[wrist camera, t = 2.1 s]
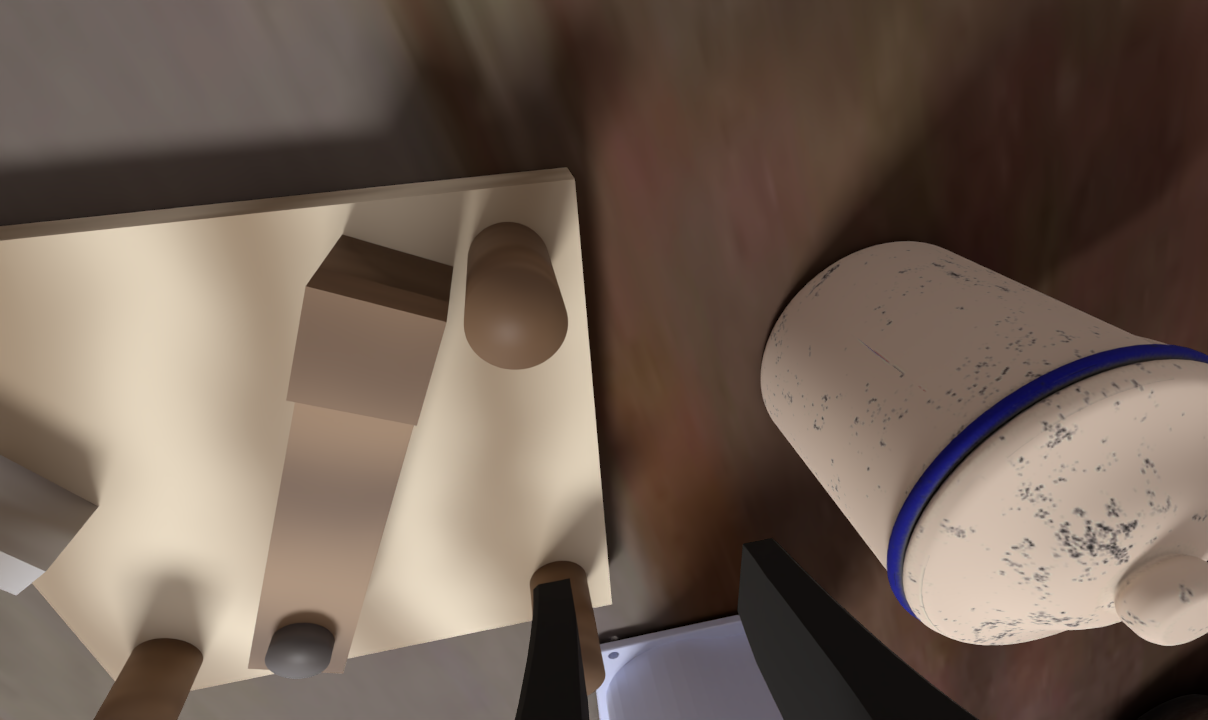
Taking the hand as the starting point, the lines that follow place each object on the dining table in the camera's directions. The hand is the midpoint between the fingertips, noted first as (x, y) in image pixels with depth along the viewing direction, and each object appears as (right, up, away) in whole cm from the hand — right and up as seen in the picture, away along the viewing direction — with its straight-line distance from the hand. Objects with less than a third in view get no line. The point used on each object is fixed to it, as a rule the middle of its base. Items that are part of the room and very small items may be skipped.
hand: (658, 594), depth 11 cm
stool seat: (-10, +2, +8) cm, 13 cm away
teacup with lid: (+10, +6, +10) cm, 15 cm away
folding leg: (-9, +2, +6) cm, 11 cm away
